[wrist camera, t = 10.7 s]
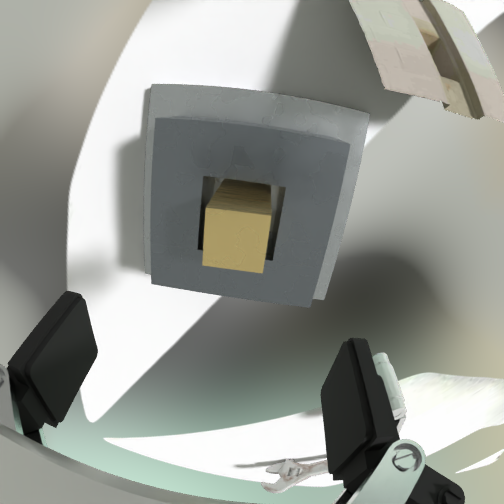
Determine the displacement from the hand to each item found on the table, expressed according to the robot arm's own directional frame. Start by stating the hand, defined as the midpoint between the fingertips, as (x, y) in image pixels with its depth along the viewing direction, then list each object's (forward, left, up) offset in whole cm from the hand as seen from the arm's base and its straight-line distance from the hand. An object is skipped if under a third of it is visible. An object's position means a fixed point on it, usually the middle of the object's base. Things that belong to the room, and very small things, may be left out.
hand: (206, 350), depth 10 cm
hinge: (+23, +21, -21) cm, 38 cm away
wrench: (+51, +24, -22) cm, 61 cm away
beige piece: (-19, +14, -22) cm, 32 cm away
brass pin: (0, 0, -20) cm, 20 cm away
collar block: (0, 0, -21) cm, 21 cm away
